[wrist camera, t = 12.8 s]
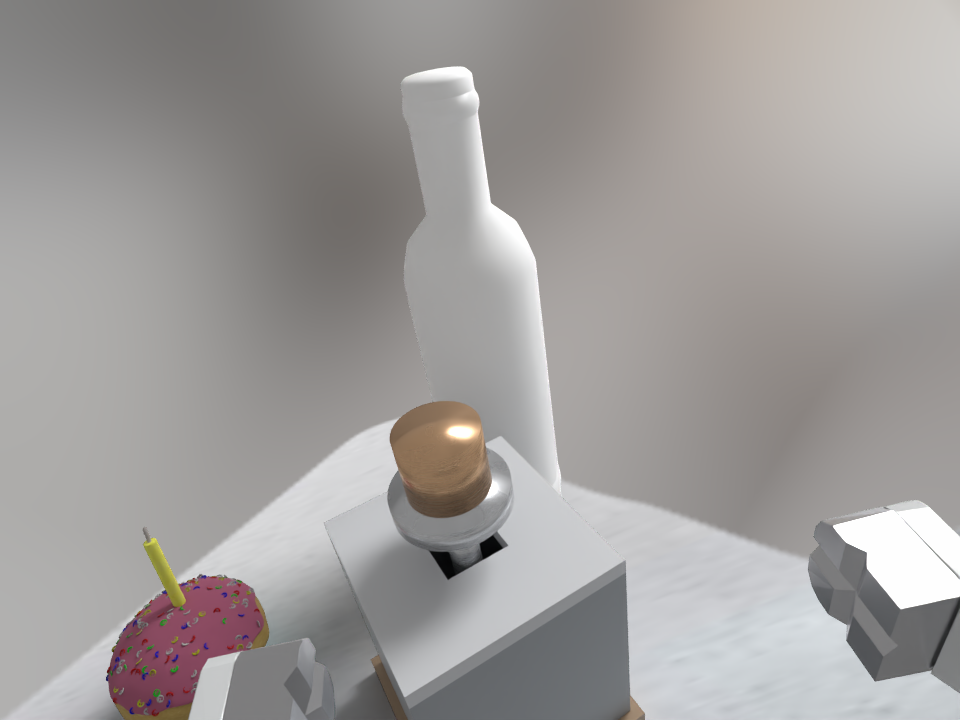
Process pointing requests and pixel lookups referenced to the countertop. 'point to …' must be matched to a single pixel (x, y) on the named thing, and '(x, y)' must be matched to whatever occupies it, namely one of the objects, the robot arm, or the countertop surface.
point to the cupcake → (180, 640)
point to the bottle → (474, 277)
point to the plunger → (447, 482)
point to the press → (495, 613)
